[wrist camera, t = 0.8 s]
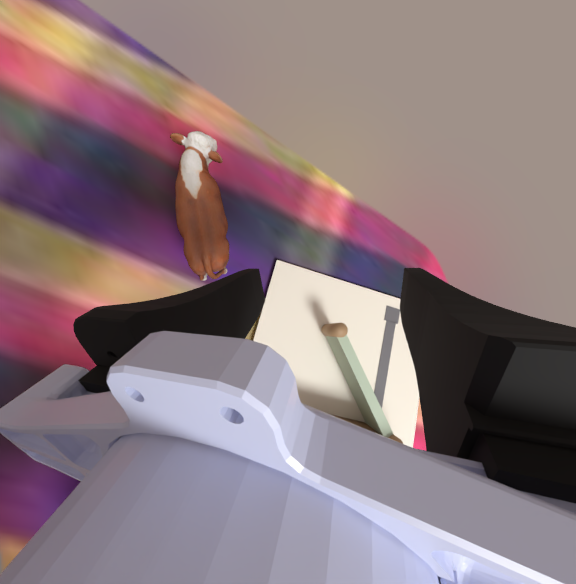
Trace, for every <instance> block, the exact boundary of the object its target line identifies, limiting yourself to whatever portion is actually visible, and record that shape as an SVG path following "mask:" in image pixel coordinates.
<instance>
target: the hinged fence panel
mask: <svg viewBox="0 0 576 584" xmlns="http://www.w3.org/2000/svg"><path fill="white" fill-rule="evenodd" d="M321 331H322V334H323V335H324V336H326V338H327V341H328V343H329V345H330V347H331V349H332V351H333V353H334V356H335V358H336V360H337V362H338V364H339V366H340V369H341V371H342V373H343V375H344V377H345V379H346V382H347V384H348V386H349V388H350V390H351V392H352V395H353V397H354V399H355V401H356V403H357V405H358V407H359V410H360V412H361V414H362V416H363V418H364V420H365V423H366V424H367V425H369V426H370V427H371V428H373V429H374V430H375V431H377V432H378V433H379V434H381V435H382V436H385V437H387V438H390V439H392V440H395V441H397V442H399V443H402V444H403V442H402V440H401V439H399V438H398V437H397V436H395V435H394V434H393V432H392V430H391V427H390V425H389V423H388V421H387V419H386V417H385V415H384V413H383V411H382V408H381V406H380V404H379V402H378V400H377V398H376V396H375V394H374V391H373V389H372V387H371V385H370V383H369V381H368V379H367V377H366V374H365V372H364V370H363V368H362V366H361V364H360V362H359V360H358V358H357V355H356V353H355V351H354V349H353V347H352V345H351V343H350V341H349V338H348V336H347V332H348V328H347V326H346V325H345V324H344V323H331V324H325V325H323V326H322V329H321Z"/></svg>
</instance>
